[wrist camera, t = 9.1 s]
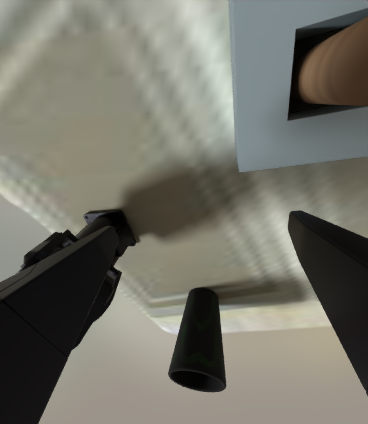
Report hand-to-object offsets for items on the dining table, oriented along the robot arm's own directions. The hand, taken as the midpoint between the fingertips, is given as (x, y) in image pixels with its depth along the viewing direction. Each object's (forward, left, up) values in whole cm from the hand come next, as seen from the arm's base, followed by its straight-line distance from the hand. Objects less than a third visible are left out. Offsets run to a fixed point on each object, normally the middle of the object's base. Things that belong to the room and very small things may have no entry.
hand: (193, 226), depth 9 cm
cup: (-4, -26, -13) cm, 29 cm away
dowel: (+9, +5, -13) cm, 16 cm away
